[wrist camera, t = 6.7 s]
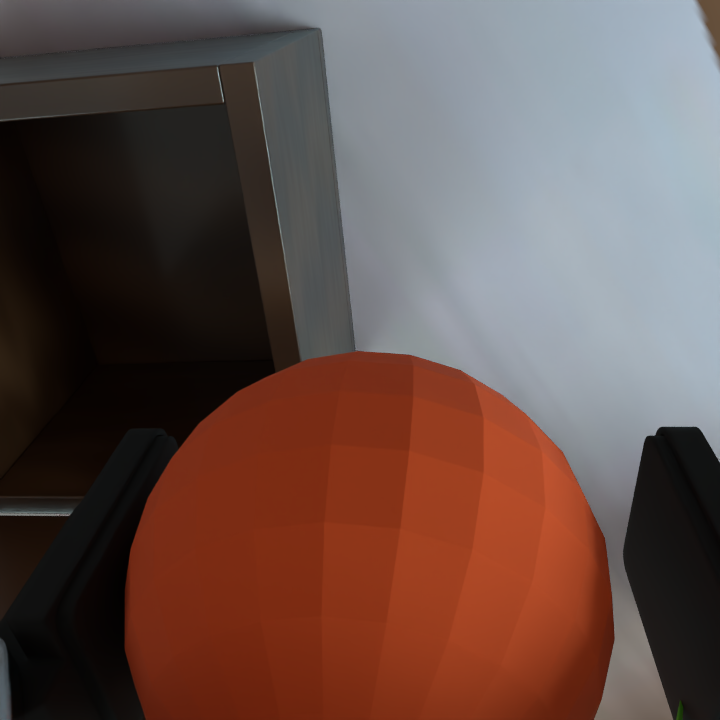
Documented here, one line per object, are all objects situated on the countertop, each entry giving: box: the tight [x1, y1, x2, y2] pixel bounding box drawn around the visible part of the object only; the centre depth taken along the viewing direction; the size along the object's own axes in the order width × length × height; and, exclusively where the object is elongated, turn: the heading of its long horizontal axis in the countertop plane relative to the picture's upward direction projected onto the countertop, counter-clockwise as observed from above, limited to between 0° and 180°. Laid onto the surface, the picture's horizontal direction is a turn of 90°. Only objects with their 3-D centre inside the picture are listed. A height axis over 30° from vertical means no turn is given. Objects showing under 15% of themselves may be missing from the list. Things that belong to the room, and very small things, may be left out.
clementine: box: [125, 351, 683, 720], centre depth 10 cm, size 8×7×7 cm
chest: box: [0, 28, 355, 514], centre depth 24 cm, size 15×14×10 cm
